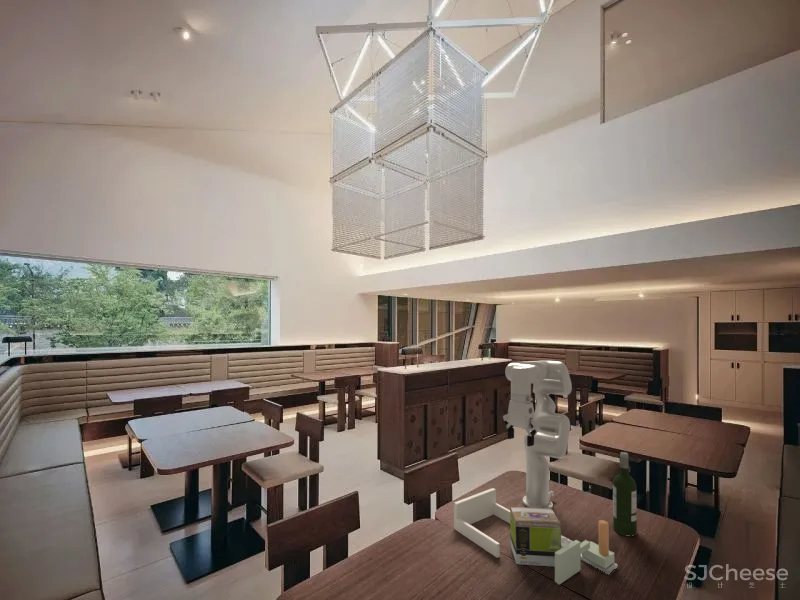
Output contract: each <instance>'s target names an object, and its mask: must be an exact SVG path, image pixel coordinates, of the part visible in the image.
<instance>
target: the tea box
mask: <svg viewBox="0 0 800 600" xmlns="http://www.w3.org/2000/svg"><path fill="white" fill-rule="evenodd" d="M509 510H510V523H509V524H510V529H509V530H510V531H509V532H510V534H509V535H510V536H509V537H510V547H511V548H510V549H511V552H512V554H513V557H514V561H515V563H516V565H525V566H526V565H527V566H539V567H553V568H555V552H556V551H558V550H560V549H561V535H562V524H561V523H562V522H560V520H559V519H558V517H557V515H556V513H555V512H554V511H553V508H552V509H546V508H529V507H524V506H523V507H522V506H519V507H518V506H510V507H509Z"/></svg>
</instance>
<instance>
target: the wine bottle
mask: <svg viewBox="0 0 800 600" xmlns="http://www.w3.org/2000/svg"><path fill="white" fill-rule="evenodd" d="M619 455H620V457H619V458H620V460H619V461H620V464H619V465H620V466H619V473H618V474H616V475H614V477H613V479H612V528H613V530H614V532H616V533H617V534H618V533H619V534H618V535H621V534H622V535H621V536H623V535H630V536H632V535H635V534H636V533H637V534H638V525H637V521H638V520H637V518H638V517H637V515H638V514H637V512H638V511H637V505H638V504H637V503H638V501H637V499H638V498H637V483H636V480H634V478H633V477H632V476H631V475H630V469H629V467H630V466H629V454H628V452H626V451H625V452H624V451H621V452H620V454H619ZM637 534H636V535H637Z"/></svg>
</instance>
